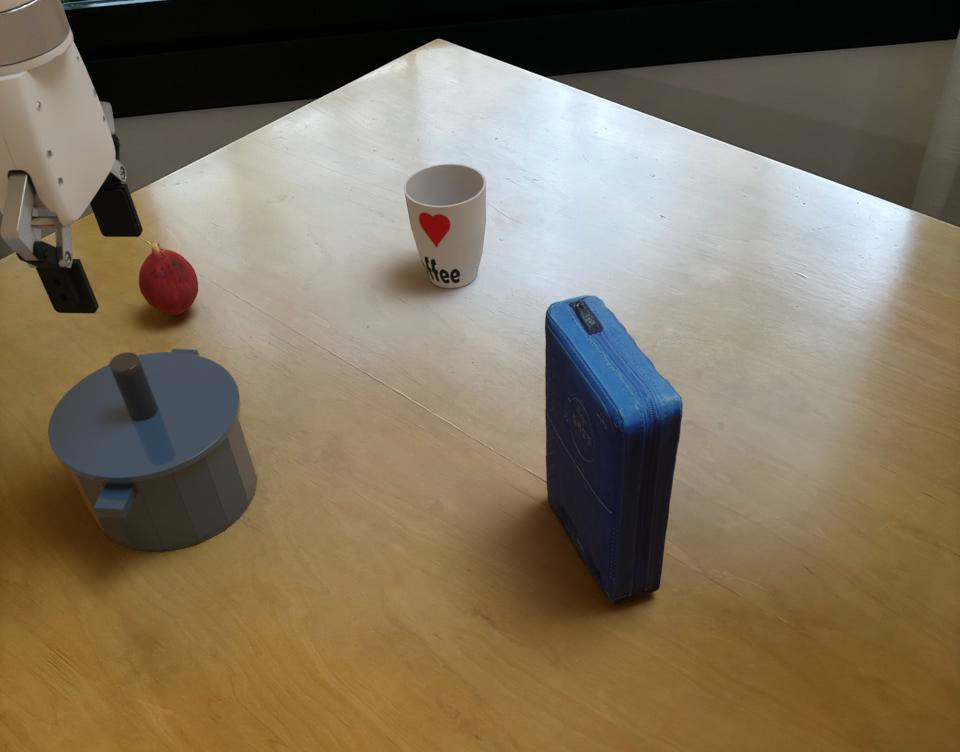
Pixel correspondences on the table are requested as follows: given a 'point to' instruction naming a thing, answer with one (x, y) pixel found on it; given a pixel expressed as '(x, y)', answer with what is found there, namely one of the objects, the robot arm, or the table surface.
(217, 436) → the lid
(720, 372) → the table surface
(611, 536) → the blue case
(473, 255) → the cup
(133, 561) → the table surface
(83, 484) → the pot
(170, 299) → the red pomegranate
